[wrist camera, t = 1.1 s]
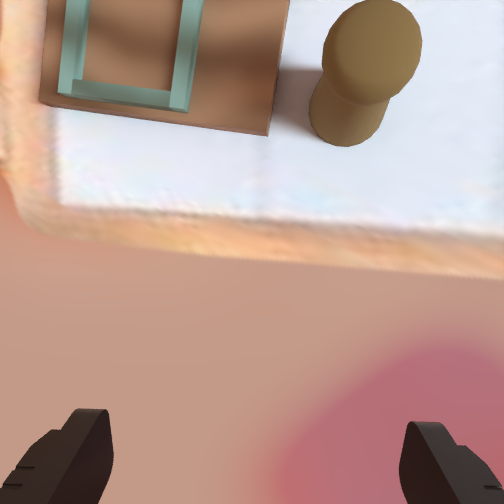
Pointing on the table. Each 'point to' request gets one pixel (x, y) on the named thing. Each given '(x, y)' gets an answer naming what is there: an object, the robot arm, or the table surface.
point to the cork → (363, 70)
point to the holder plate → (166, 60)
